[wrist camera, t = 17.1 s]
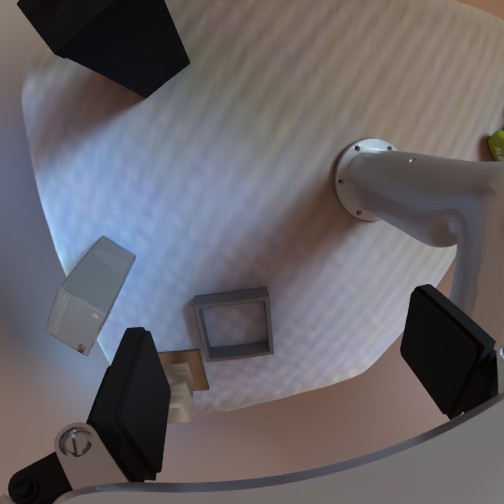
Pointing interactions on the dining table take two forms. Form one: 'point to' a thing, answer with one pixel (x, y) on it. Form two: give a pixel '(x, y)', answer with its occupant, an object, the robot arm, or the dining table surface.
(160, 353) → the walnut board
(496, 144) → the dumbbell
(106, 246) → the skincare box
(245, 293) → the bin
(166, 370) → the beech block
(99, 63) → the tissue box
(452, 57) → the dining table surface
